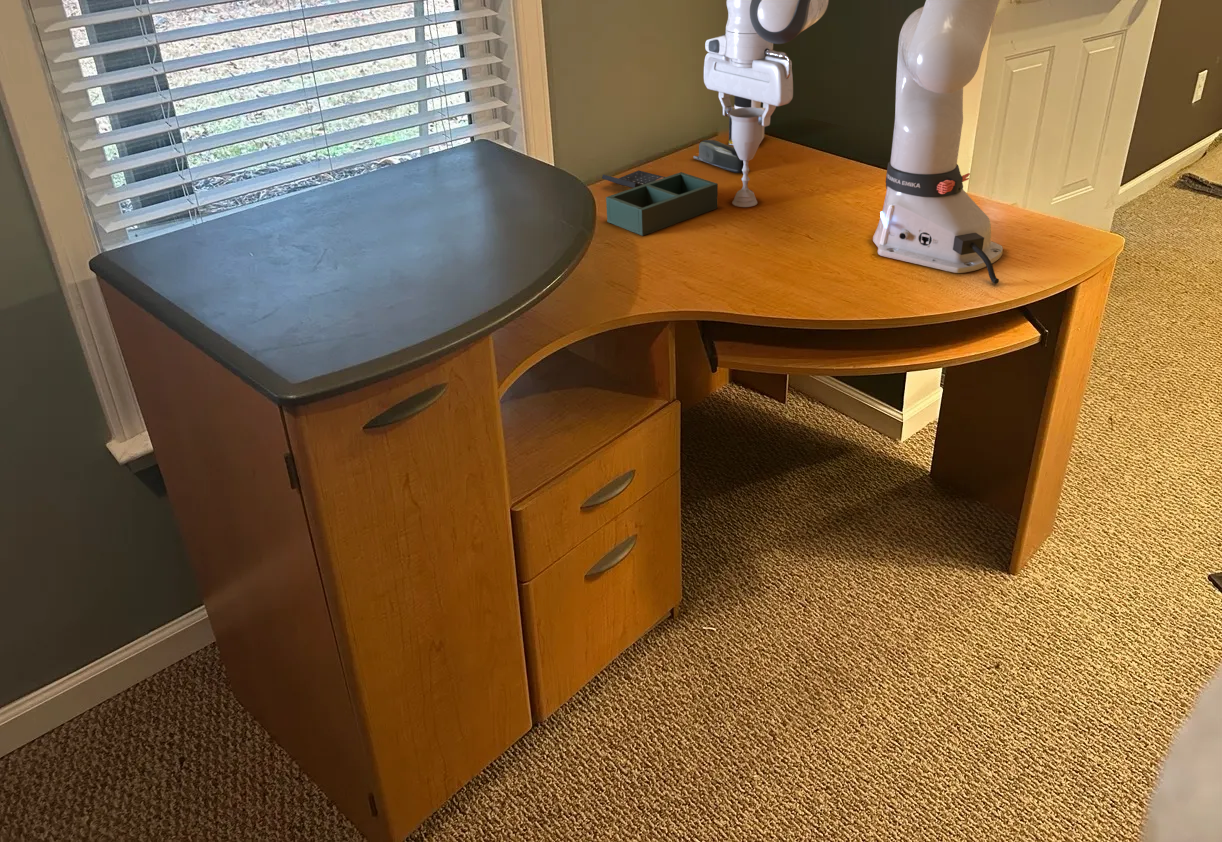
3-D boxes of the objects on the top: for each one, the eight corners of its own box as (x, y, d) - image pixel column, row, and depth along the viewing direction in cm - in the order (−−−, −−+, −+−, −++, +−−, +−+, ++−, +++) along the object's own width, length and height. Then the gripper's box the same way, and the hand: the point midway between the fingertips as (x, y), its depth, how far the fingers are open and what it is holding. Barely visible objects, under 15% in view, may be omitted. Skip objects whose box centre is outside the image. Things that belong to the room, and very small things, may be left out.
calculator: (671, 182, 211) (671, 168, 209) (634, 197, 204) (634, 183, 202) (638, 174, 216) (638, 160, 215) (602, 188, 210) (601, 174, 208)
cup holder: (717, 208, 196) (717, 183, 194) (642, 236, 186) (641, 210, 183) (681, 196, 203) (681, 171, 201) (607, 222, 193) (605, 197, 190)
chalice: (752, 211, 194) (755, 119, 185) (721, 206, 197) (722, 115, 188) (767, 199, 199) (771, 109, 190) (737, 194, 203) (739, 105, 193)
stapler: (749, 150, 212) (700, 134, 221) (740, 153, 210) (691, 137, 220) (748, 172, 214) (700, 156, 224) (739, 176, 213) (690, 159, 223)
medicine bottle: (728, 145, 231) (729, 93, 224) (734, 136, 237) (735, 85, 230) (758, 146, 229) (760, 94, 222) (764, 137, 234) (766, 86, 228)
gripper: (803, 51, 177) (798, 127, 185) (722, 35, 191) (720, 107, 198) (779, 57, 174) (775, 135, 181) (698, 40, 187) (697, 113, 195)
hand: (745, 120), depth 190 cm, fingers open, 8 cm apart
